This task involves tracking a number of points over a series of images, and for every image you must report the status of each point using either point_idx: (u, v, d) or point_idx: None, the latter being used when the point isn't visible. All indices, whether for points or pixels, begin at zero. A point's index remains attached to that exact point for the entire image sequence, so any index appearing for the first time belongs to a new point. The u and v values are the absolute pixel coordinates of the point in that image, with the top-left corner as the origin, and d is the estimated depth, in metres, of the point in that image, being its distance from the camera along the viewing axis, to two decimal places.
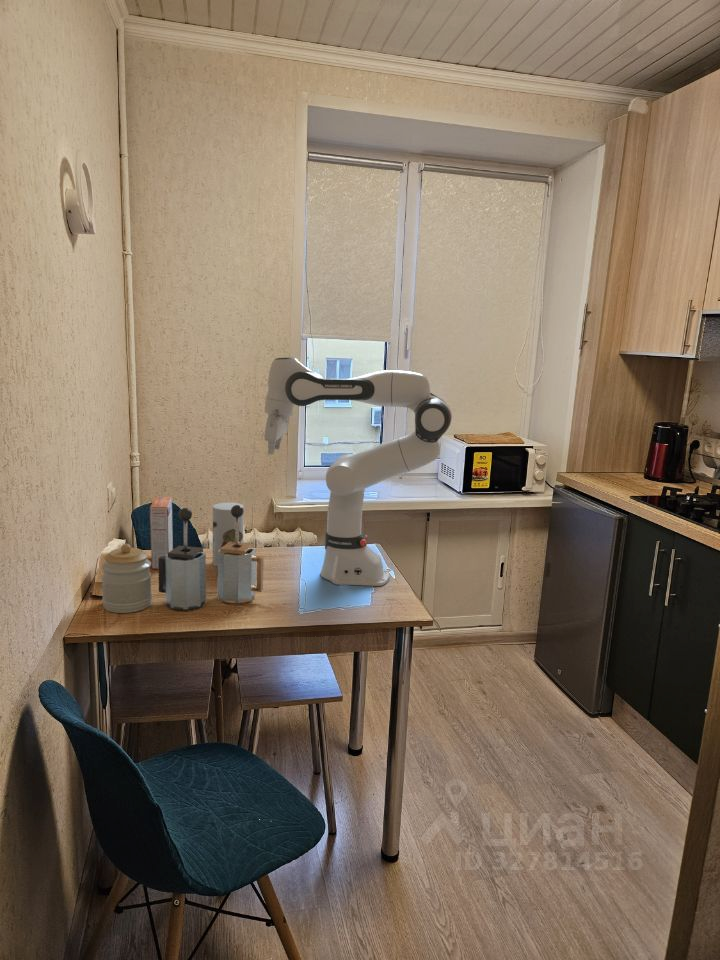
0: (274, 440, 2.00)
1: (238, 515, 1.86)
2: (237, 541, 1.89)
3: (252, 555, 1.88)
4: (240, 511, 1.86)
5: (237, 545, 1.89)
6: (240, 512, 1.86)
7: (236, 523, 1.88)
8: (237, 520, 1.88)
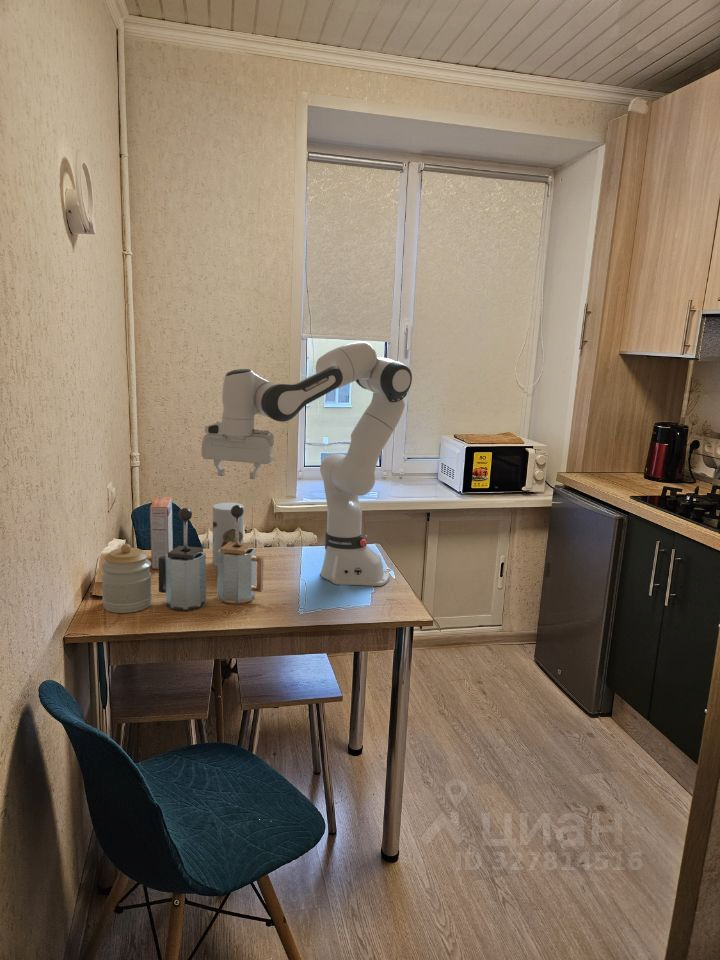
0: None
1: (238, 515, 1.86)
2: (237, 541, 1.89)
3: (252, 555, 1.88)
4: (240, 511, 1.86)
5: (237, 545, 1.89)
6: (240, 512, 1.86)
7: (236, 523, 1.88)
8: (237, 520, 1.88)
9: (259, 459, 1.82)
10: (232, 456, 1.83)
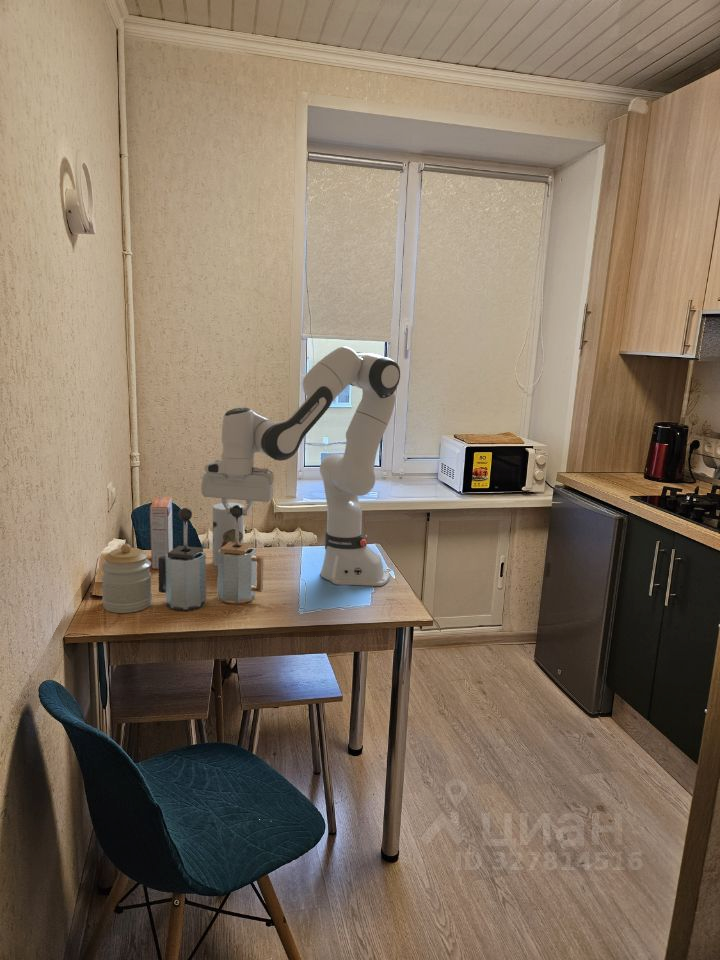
0: None
1: (238, 515, 1.86)
2: (237, 541, 1.89)
3: (252, 555, 1.88)
4: (240, 511, 1.86)
5: (237, 545, 1.89)
6: (240, 512, 1.86)
7: (236, 523, 1.88)
8: (237, 520, 1.88)
9: (259, 497, 1.84)
10: (232, 494, 1.85)
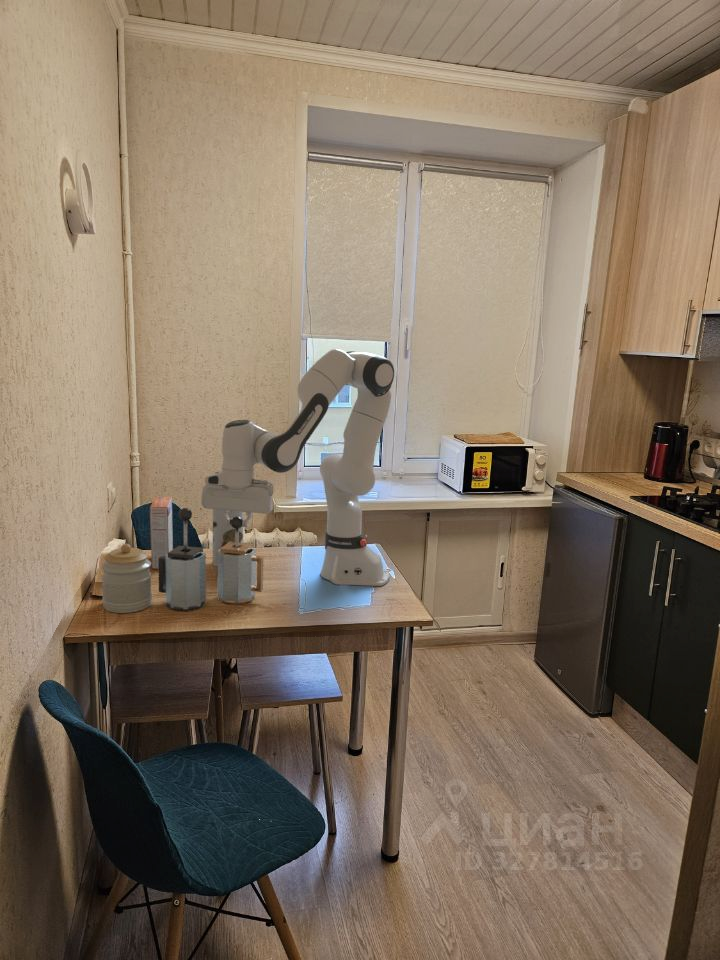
0: None
1: (238, 526, 1.87)
2: None
3: (252, 555, 1.88)
4: (240, 522, 1.87)
5: None
6: (240, 524, 1.87)
7: (236, 534, 1.88)
8: (237, 531, 1.88)
9: (259, 509, 1.84)
10: (232, 505, 1.85)
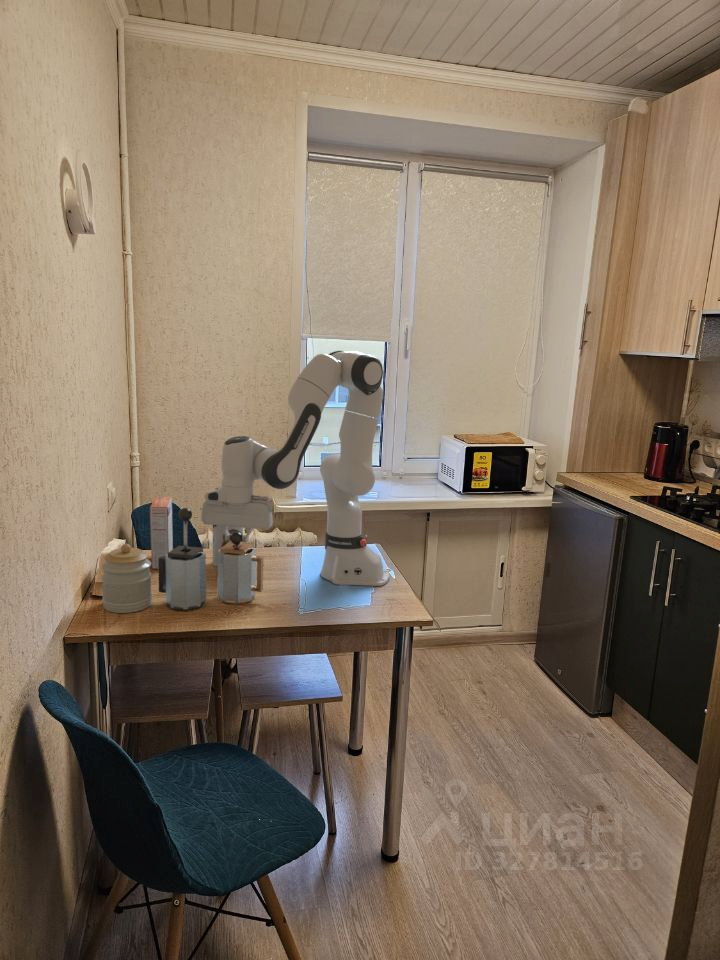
0: None
1: (238, 542, 1.88)
2: None
3: (252, 555, 1.88)
4: (240, 538, 1.88)
5: None
6: (240, 539, 1.88)
7: None
8: (237, 547, 1.89)
9: (259, 525, 1.85)
10: (232, 521, 1.86)
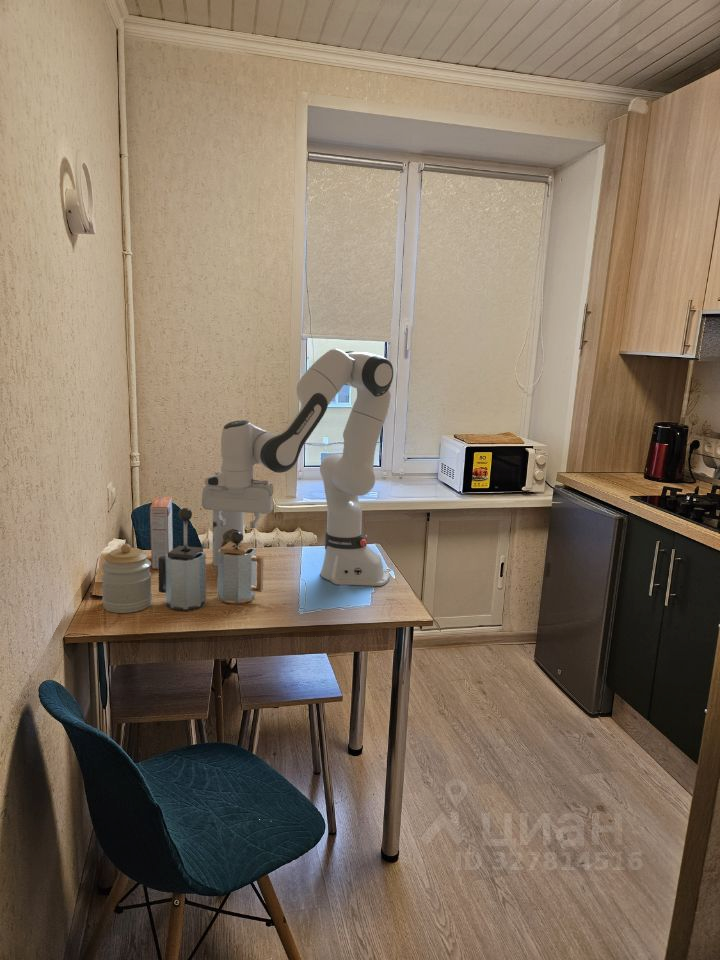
0: None
1: (238, 541, 1.88)
2: None
3: (252, 555, 1.88)
4: (240, 537, 1.88)
5: None
6: (240, 539, 1.88)
7: None
8: (237, 546, 1.89)
9: (259, 509, 1.84)
10: (232, 506, 1.86)
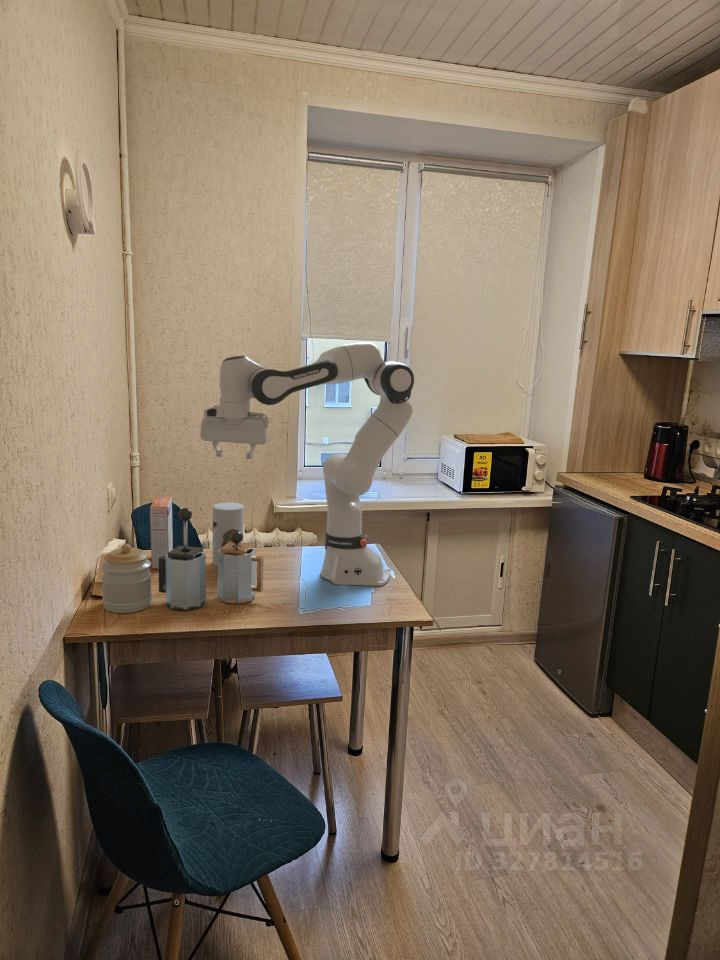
0: None
1: (238, 541, 1.88)
2: None
3: (252, 555, 1.88)
4: (240, 537, 1.88)
5: None
6: (240, 539, 1.88)
7: None
8: (237, 546, 1.89)
9: (255, 440, 1.95)
10: (230, 437, 1.96)
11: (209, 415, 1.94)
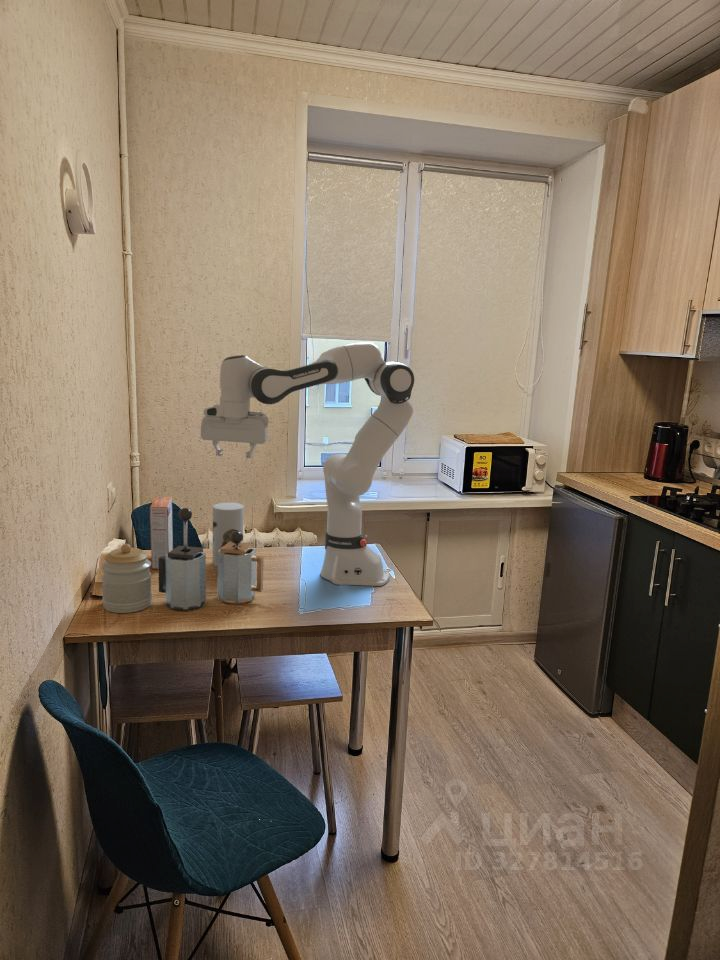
0: None
1: (238, 541, 1.88)
2: None
3: (252, 555, 1.88)
4: (240, 537, 1.88)
5: None
6: (240, 539, 1.88)
7: None
8: (237, 546, 1.89)
9: (255, 439, 1.95)
10: (230, 436, 1.96)
11: (209, 414, 1.95)
